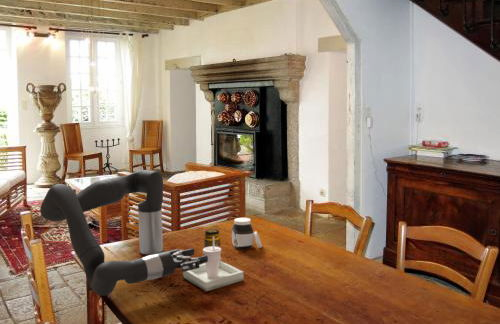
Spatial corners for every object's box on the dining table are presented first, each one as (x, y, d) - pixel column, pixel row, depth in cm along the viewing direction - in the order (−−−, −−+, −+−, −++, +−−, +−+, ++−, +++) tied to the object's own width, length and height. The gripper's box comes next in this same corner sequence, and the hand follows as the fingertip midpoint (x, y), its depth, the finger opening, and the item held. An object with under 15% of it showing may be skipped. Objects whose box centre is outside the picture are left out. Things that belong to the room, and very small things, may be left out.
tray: (183, 277, 165) (183, 269, 165) (219, 267, 174) (219, 259, 174) (206, 291, 153) (206, 282, 153) (243, 280, 162) (243, 271, 162)
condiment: (222, 263, 179) (221, 232, 177) (199, 264, 178) (198, 233, 176) (220, 256, 186) (220, 227, 184) (198, 257, 185) (198, 228, 183)
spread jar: (229, 244, 200) (229, 217, 199) (253, 241, 205) (253, 214, 203) (241, 253, 190) (240, 225, 188) (266, 249, 194) (266, 221, 193)
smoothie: (219, 280, 160) (218, 240, 158) (200, 278, 161) (200, 239, 159) (224, 273, 166) (223, 234, 164) (206, 271, 167) (205, 233, 165)
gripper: (146, 270, 155) (189, 259, 165) (167, 284, 144) (212, 272, 154) (146, 248, 154) (189, 238, 164) (166, 261, 143) (211, 249, 153)
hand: (200, 254), depth 159 cm, fingers open, 8 cm apart
